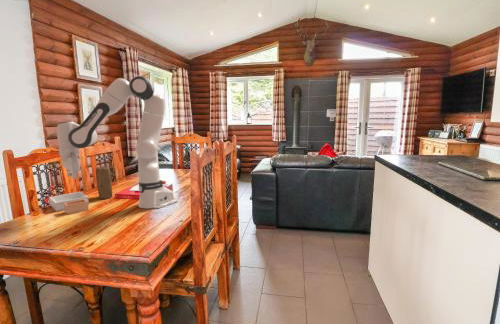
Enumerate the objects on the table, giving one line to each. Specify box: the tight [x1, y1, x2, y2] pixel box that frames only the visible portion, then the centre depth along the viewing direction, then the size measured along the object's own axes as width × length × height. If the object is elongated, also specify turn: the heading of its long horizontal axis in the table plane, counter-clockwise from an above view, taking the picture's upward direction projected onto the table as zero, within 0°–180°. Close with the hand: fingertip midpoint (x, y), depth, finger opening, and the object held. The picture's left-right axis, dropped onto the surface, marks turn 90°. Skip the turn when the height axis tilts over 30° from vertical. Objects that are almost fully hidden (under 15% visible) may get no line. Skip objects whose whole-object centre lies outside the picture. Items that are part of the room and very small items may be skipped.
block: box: [95, 165, 113, 200], centre depth 173 cm, size 11×8×20 cm
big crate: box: [48, 191, 90, 212], centre depth 160 cm, size 16×16×5 cm
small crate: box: [64, 199, 89, 215], centre depth 149 cm, size 10×6×5 cm, turn 136°
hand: (72, 177), depth 147 cm, fingers open, 8 cm apart
